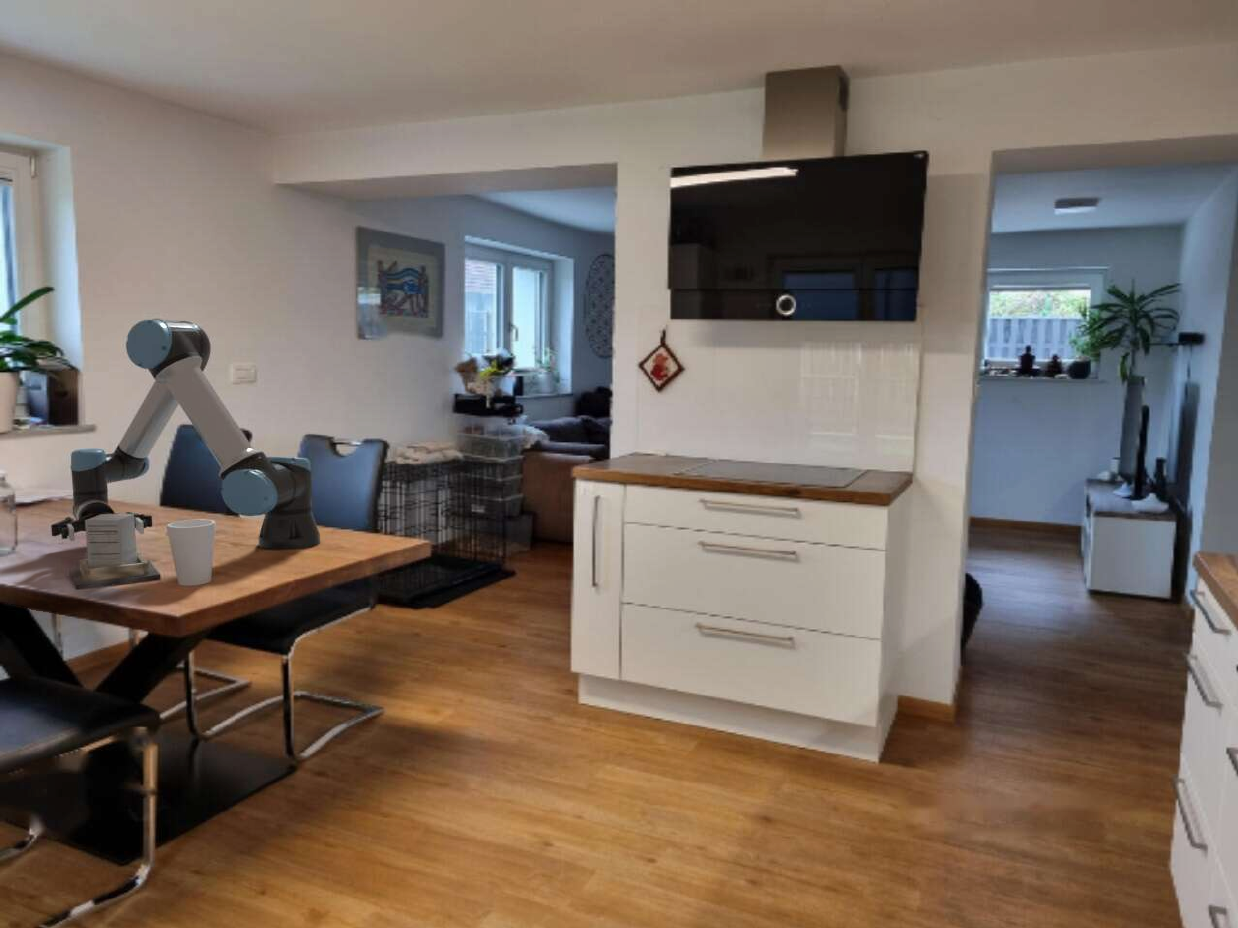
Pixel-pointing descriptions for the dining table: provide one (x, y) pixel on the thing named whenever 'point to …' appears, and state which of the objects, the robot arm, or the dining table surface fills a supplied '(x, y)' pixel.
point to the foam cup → (192, 550)
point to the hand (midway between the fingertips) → (107, 531)
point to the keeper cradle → (113, 574)
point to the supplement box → (111, 540)
